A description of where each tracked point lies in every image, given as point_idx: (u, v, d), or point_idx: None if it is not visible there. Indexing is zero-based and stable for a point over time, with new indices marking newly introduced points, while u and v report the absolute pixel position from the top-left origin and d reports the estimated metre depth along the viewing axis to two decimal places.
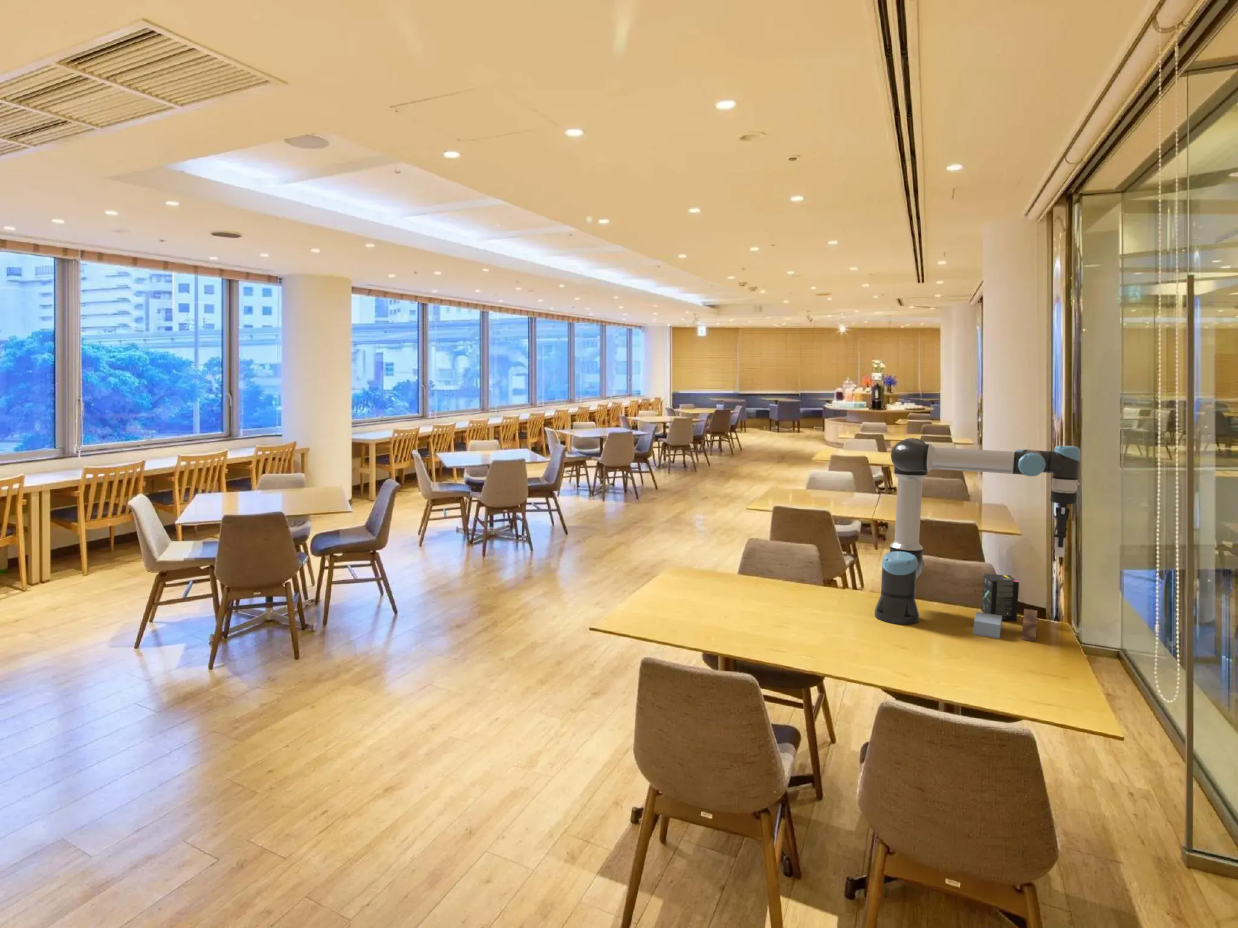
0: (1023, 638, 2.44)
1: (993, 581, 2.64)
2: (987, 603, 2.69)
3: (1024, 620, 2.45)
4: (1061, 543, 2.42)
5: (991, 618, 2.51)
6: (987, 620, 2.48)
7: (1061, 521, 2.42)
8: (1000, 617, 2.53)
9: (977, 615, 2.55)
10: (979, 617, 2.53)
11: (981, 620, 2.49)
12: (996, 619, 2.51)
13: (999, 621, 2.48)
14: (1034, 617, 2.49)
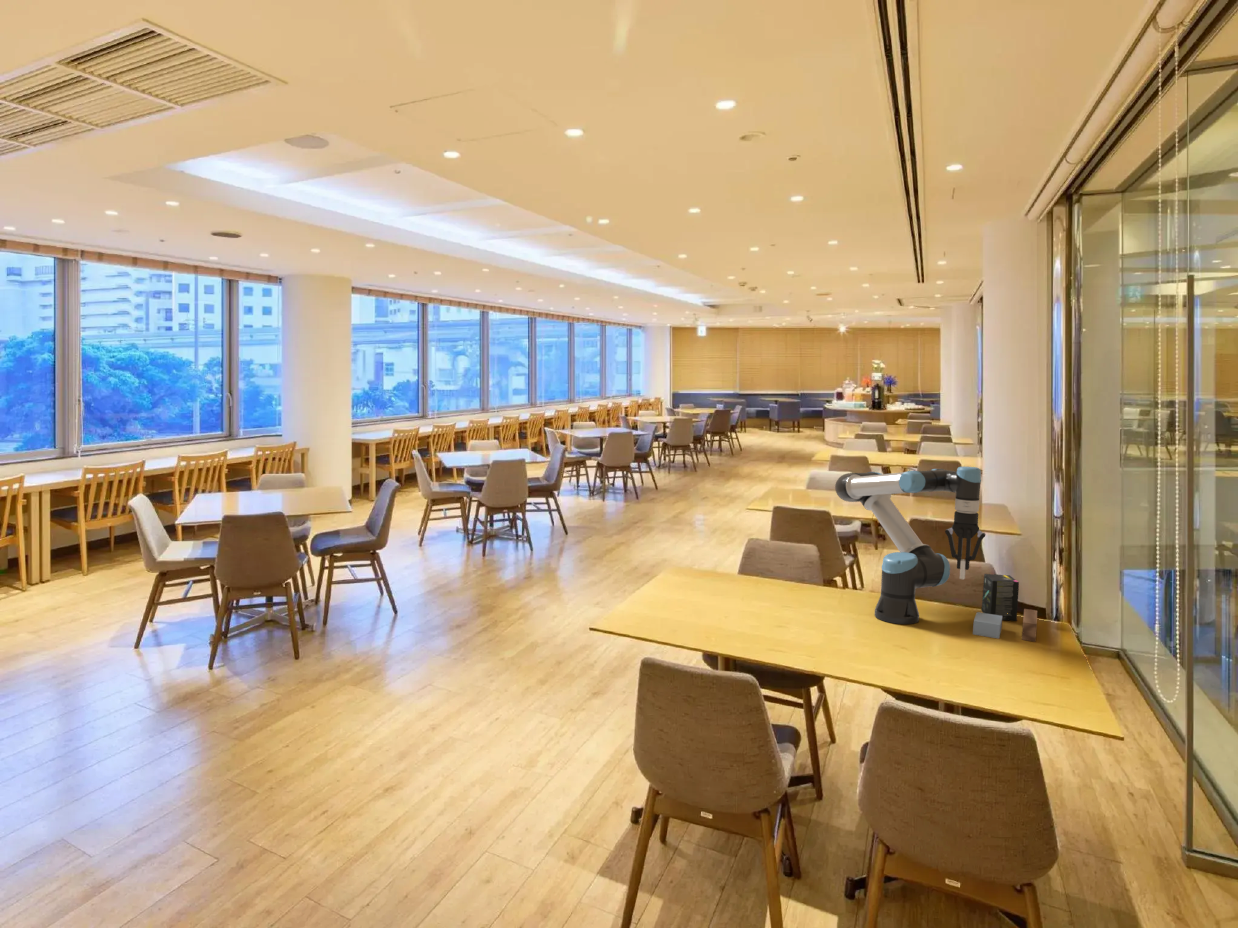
0: (1023, 638, 2.44)
1: (993, 581, 2.64)
2: (987, 603, 2.69)
3: (1024, 620, 2.45)
4: None
5: (991, 618, 2.51)
6: (987, 620, 2.49)
7: None
8: (1000, 617, 2.53)
9: (977, 615, 2.55)
10: (979, 617, 2.53)
11: (981, 620, 2.49)
12: (996, 619, 2.51)
13: (999, 621, 2.48)
14: (1034, 617, 2.49)
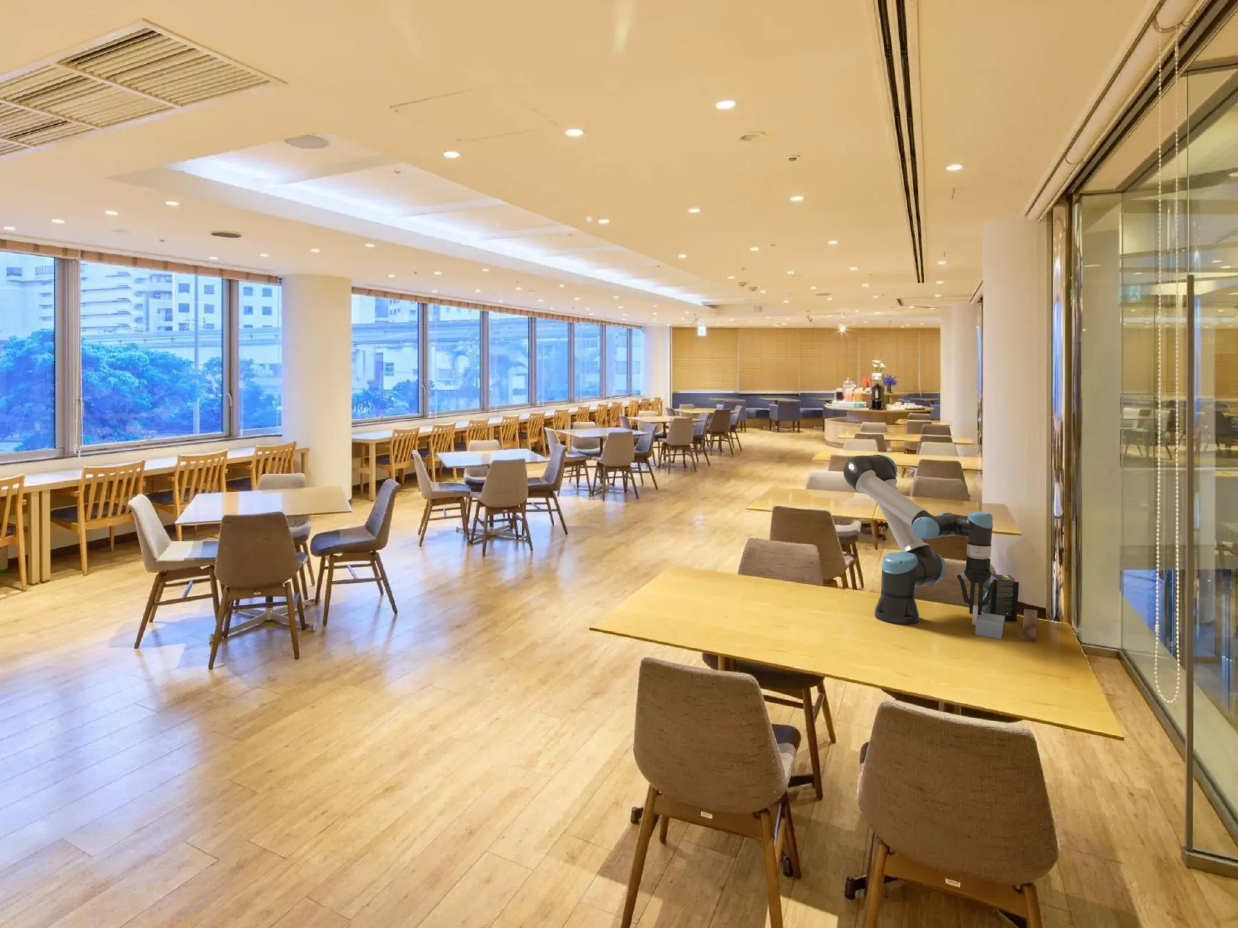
0: (1023, 638, 2.44)
1: None
2: None
3: (1024, 620, 2.45)
4: None
5: (993, 618, 2.51)
6: (989, 621, 2.48)
7: None
8: (1003, 617, 2.52)
9: (979, 615, 2.54)
10: (981, 617, 2.52)
11: (983, 620, 2.48)
12: (999, 619, 2.50)
13: (1001, 621, 2.48)
14: (1034, 617, 2.49)
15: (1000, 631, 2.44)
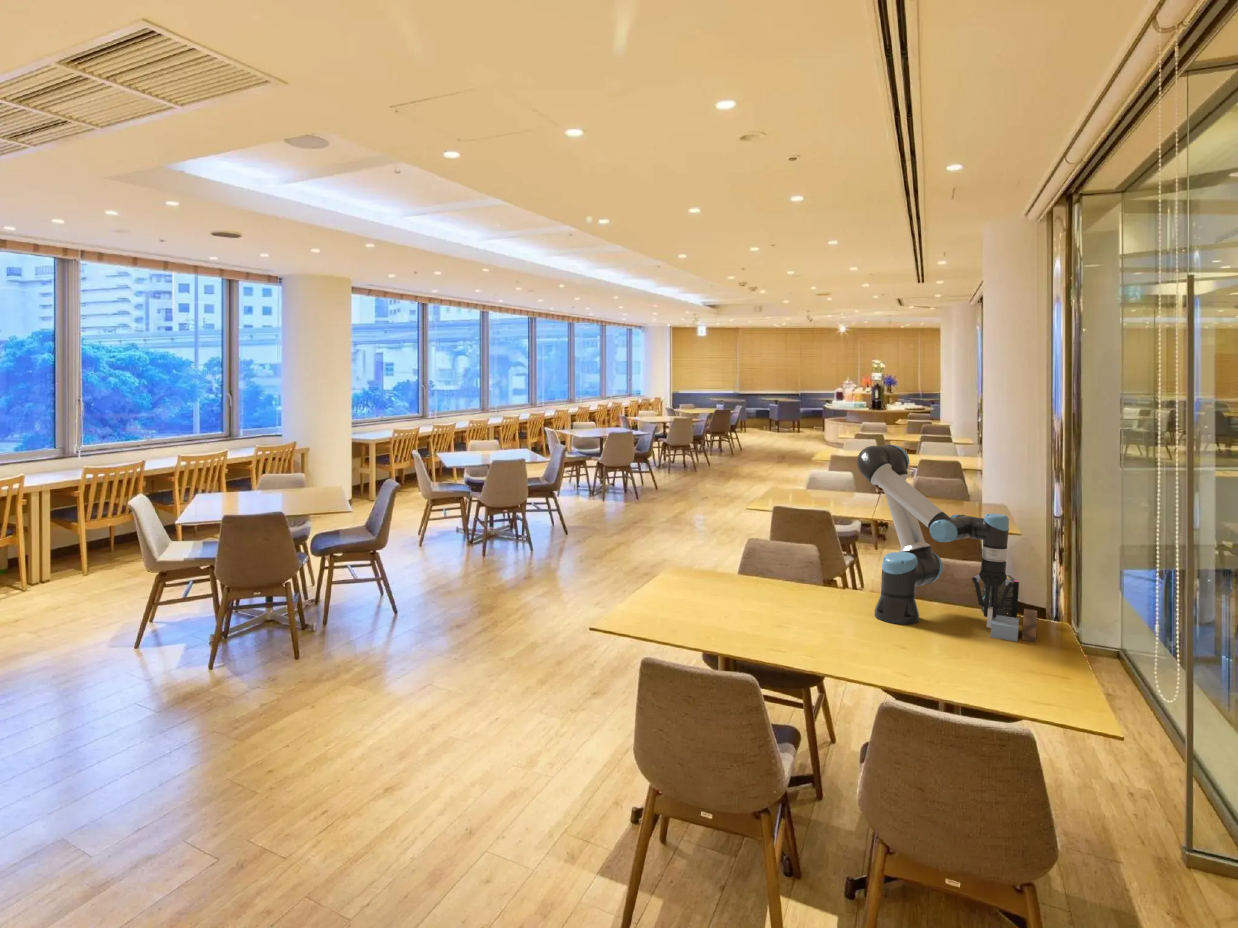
0: (1023, 638, 2.44)
1: None
2: None
3: (1024, 620, 2.45)
4: None
5: (1008, 621, 2.49)
6: (1005, 623, 2.46)
7: None
8: (1017, 620, 2.50)
9: (994, 618, 2.52)
10: (996, 619, 2.50)
11: (999, 623, 2.46)
12: (1014, 621, 2.48)
13: (1016, 624, 2.45)
14: (1034, 617, 2.49)
15: (1016, 634, 2.42)
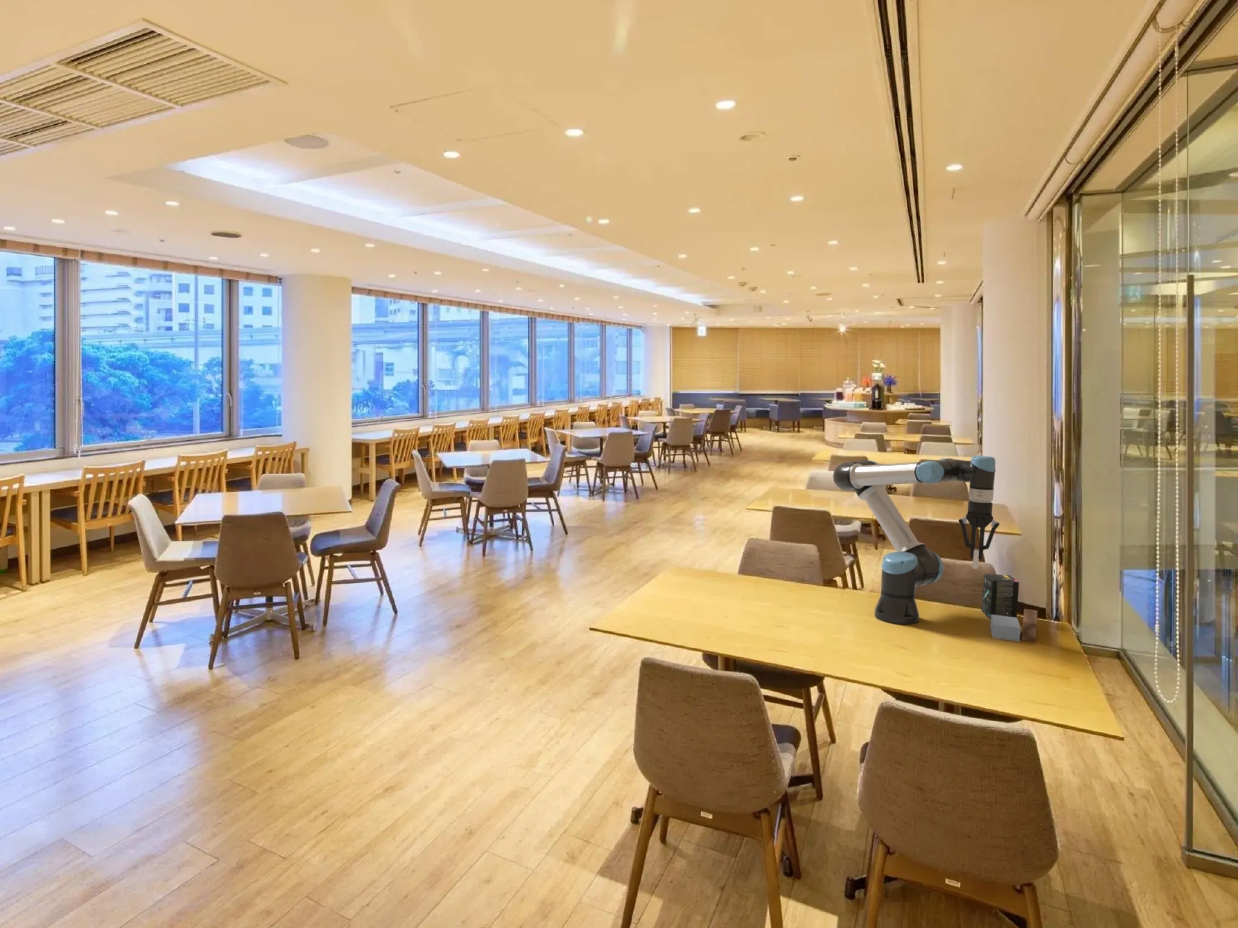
0: (1023, 638, 2.44)
1: (993, 581, 2.64)
2: (987, 603, 2.69)
3: (1024, 620, 2.45)
4: None
5: (1008, 621, 2.49)
6: (1006, 623, 2.46)
7: (963, 532, 2.55)
8: (1016, 619, 2.51)
9: (993, 618, 2.52)
10: (996, 620, 2.50)
11: (1000, 623, 2.46)
12: (1013, 621, 2.48)
13: (1017, 624, 2.46)
14: (1034, 617, 2.49)
15: (1018, 634, 2.42)
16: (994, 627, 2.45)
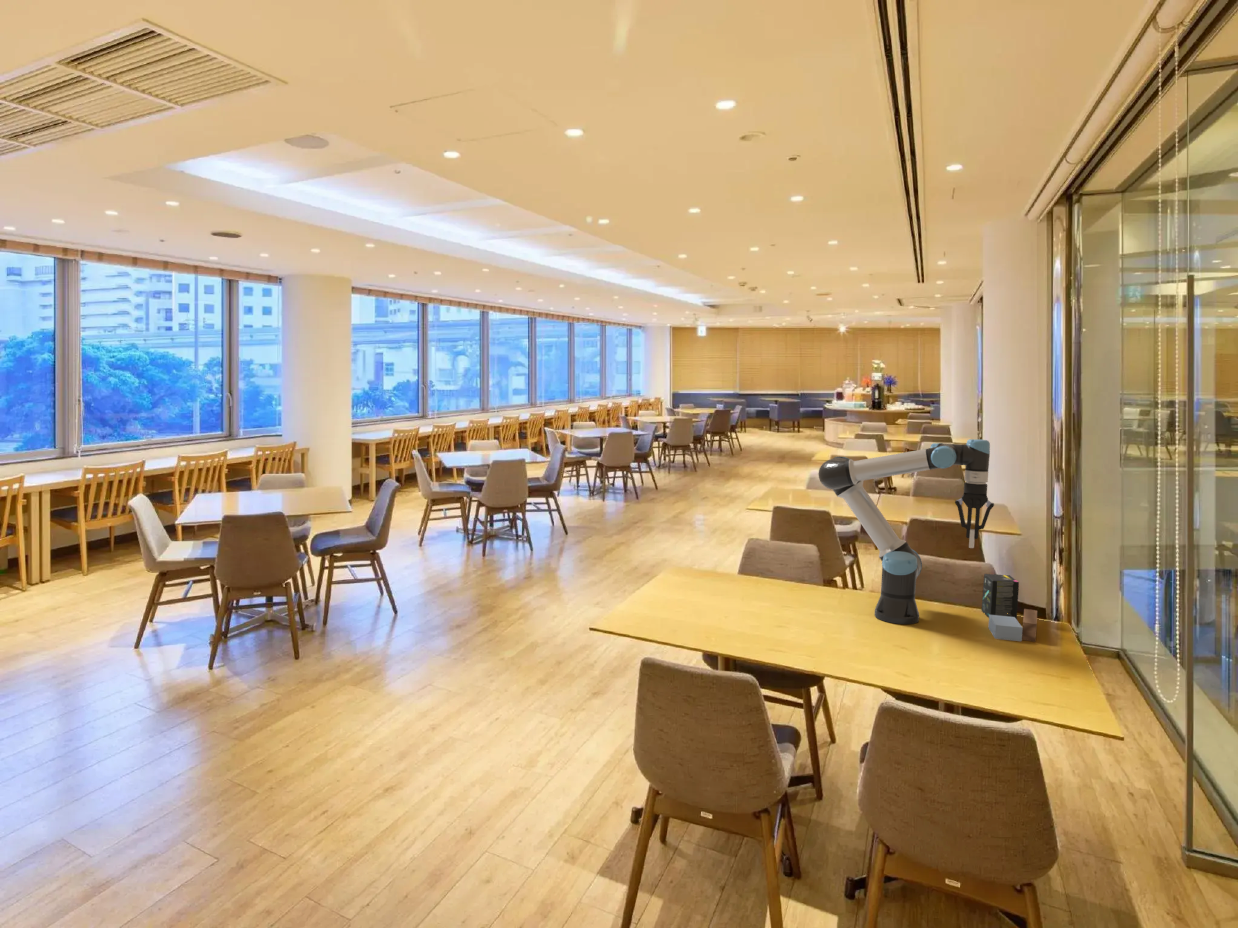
0: (1023, 638, 2.44)
1: (993, 581, 2.64)
2: (987, 603, 2.69)
3: (1024, 620, 2.45)
4: None
5: (1008, 620, 2.49)
6: (1007, 623, 2.46)
7: None
8: (1015, 619, 2.51)
9: (993, 618, 2.51)
10: (997, 620, 2.49)
11: (1002, 624, 2.45)
12: (1013, 621, 2.49)
13: (1018, 623, 2.46)
14: (1034, 617, 2.49)
15: (1020, 634, 2.42)
16: (996, 628, 2.44)
